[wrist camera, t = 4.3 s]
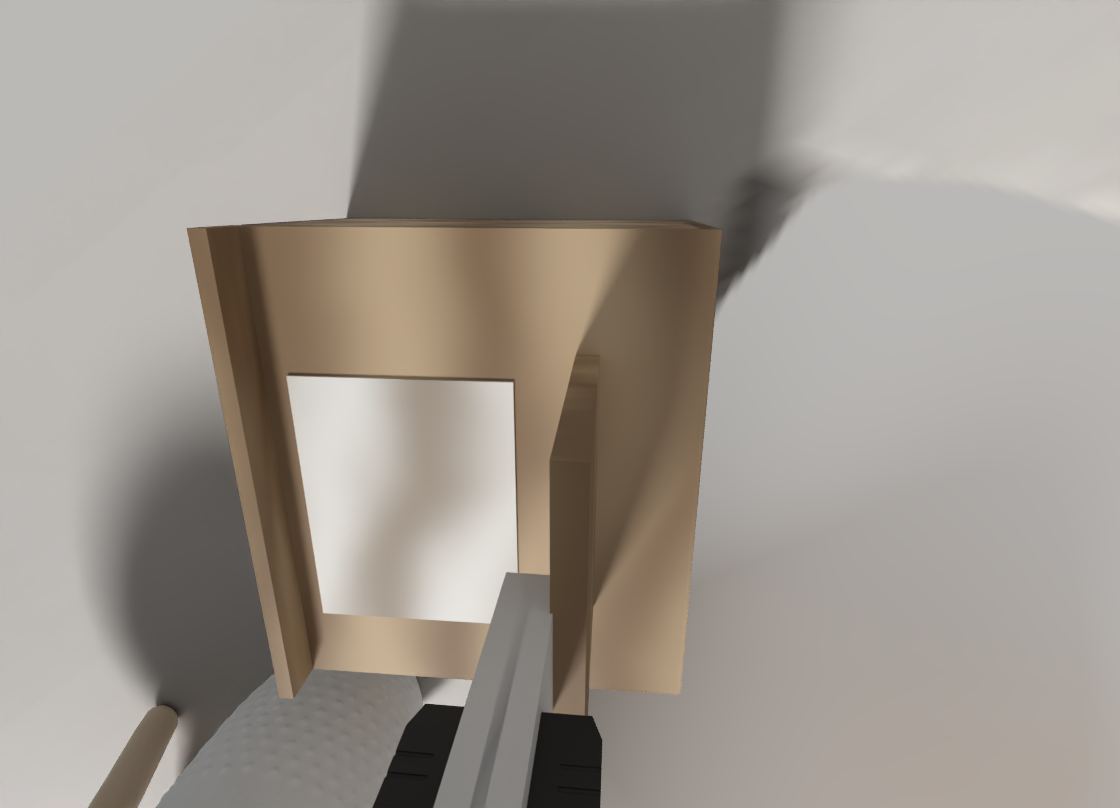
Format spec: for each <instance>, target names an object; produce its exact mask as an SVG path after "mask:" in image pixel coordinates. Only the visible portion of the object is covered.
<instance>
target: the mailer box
mask: <svg viewBox="0 0 1120 808" xmlns="http://www.w3.org/2000/svg"><path fill="white" fill-rule="evenodd" d="M245 225H255V226H390V227H525V228H659V229H718V228H714V227H711V226H707V225H704V224H701V223H697V222H694V221H662V220H518V219H373V218H343V219H327V220H310V221H294V222H278V223H262V224H245Z"/></svg>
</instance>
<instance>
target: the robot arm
mask: <svg viewBox="0 0 1120 808" xmlns="http://www.w3.org/2000/svg"><path fill="white" fill-rule="evenodd" d="M601 763H602V738H601V736H600V734H599V731H598V729H597V727H596V724H595V722H594V719H593V717H592V716H585V715H572V714H560V713H553V614H550V575H541V574H528V573H512V572H506V574H505V578H504V581H503V584H502V587H501V591H500V594H499V597H498V600H497V604H496V607H495V610H494V613H493V616H492V620H491V623H490V626H489V629H488V633H487V636H486V639H485V642H484V646H483V649H482V652H481V655H480V658H479V662H478V665H477V668H476V671H475V675H474V678H473V681H472V684H471V687H470V691H469V694H468V697H467V700H466V704H465V707H459V706H447V705H435V704H425V705H424V706H423V707H422V708H421V709H420V710H419V711H418V712H417V714H416V715H415V716H414V717H413V718H412V719H411V720H410V721H409V722H408V723H407V725H406V727H405V729H404V732H403V734H402V736H401V739H400V741H399V744H398V746H397V749H396V754H395V755H394V756H393V758H392V761H391V763H390V766H389V768H388V771H387V776H386V777H385V778H384V780H383V783H382V785H381V788H380V790H379V793H378V795H377V797H376V800H375V802H374V805H373V807H372V808H600V795H601V794H600V793H601V791H600V790H601Z"/></svg>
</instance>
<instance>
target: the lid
mask: <svg viewBox="0 0 1120 808" xmlns="http://www.w3.org/2000/svg"><path fill="white" fill-rule="evenodd" d="M187 232H188V237H189V242H190V247H191V252H192V257H193V262H194V268H195V273H196V278H197V283H198V288H199V293H200V298H201V303H202V308H203V313H204V318H205V323H206V328H207V334H208V339H209V344H210V349H211V354H212V359H213V364H214V369H215V374H216V379H217V384H218V389H219V394H220V400H221V405H222V410H223V415H224V420H225V425H226V430H227V435H228V440H229V445H230V450H231V455H232V461H233V466H234V471H235V476H236V481H237V486H238V491H239V496H240V501H241V506H242V511H243V516H244V521H245V527H246V532H247V537H248V542H249V547H250V552H251V557H252V562H253V567H254V572H255V577H256V582H257V587H258V593H259V598H260V603H261V608H262V613H263V618H264V623H265V628H266V633H267V638H268V643H269V648H270V653H271V659H272V664H273V669H274V674H275V679H276V684H277V689H278V694H279V698H288V699H294V698H295V696H296V694H297V693H298V691H299V690H300V688H301V687H302V685H303V684H304V682H305V680H306V679H307V677H308V676H309V674H310V673H311V671H312V670H313V669H323V670H337V671H351V672H366V673H380V674H394V675H408V676H422V677H436V678H451V679H465V680H473V678H474V675H475V671H476V668H477V665H478V662H479V658H480V655H481V652H482V649H483V646H484V642H485V639H486V636H487V633H488V629H489V626H490V623H491V620H492V616H493V613H494V610H495V607H496V604H497V600H498V597H499V594H500V591H501V587H502V584H503V581H504V578H505V574H506V572H512V573H528V574H541V575H550V614H553V713H560V714H572V715H585V716H588V699H589V688H592V689H606V690H621V691H635V692H649V693H650V692H651V693H663V694H677V695H680V692H681V681H682V669H683V659H684V648H685V636H686V625H687V615H688V603H689V593H690V581H691V570H692V560H693V548H694V538H695V527H696V516H697V504H698V494H699V482H700V471H701V460H702V448H703V438H704V427H705V416H706V405H707V394H708V383H709V372H710V361H711V350H712V339H713V328H714V317H715V306H716V295H717V284H718V273H719V262H720V251H721V240H722V230H721V229H659V228H525V227H390V226H255V225H229V226H213V227H198V228H187Z"/></svg>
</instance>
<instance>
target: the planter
mask: <svg viewBox="0 0 1120 808" xmlns="http://www.w3.org/2000/svg"><path fill="white" fill-rule="evenodd" d="M177 724H178V716H177V714H176V712H175V711H174V710H173V709H172V708H170V707H168V706H164V705H160V706H156V707H154V708H152V709H150V710H149V711H148V712H147V714H146V715H145V717H144V718H143V719H142V721H141V722H140V724H139V725H138V727H137V728H136V730H135V731H134V733H133V735H132V736H131V738H130V740H129V741H128V743H127V745H126V746H125V748H124V750H123V751H122V753H121V755H120V756H119V758H118V760H117V761H116V763H115V765H114V766H113V768H112V770H111V771H110V773H109V775H108V776H107V778H106V780H105V781H104V783H103V785H102V786H101V788H100V789H99V791H98V792H97V794H96V796H95V797H94V799H93V800H92V802H91V804H90V805H89V807H88V808H137V807H138V805H139V803H140V801H141V799H142V798H143V796H144V794H145V791H146V789H147V787H148V785H149V783H150V781H151V779H152V777H153V775H154V772H155V770H156V768H157V766H158V764H159V762H160V760H161V758H162V756H163V754H164V751H165V749H166V747H167V745H168V743H169V741H170V739H171V737H172V735H173V733H174V731H175V729H176V727H177Z"/></svg>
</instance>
